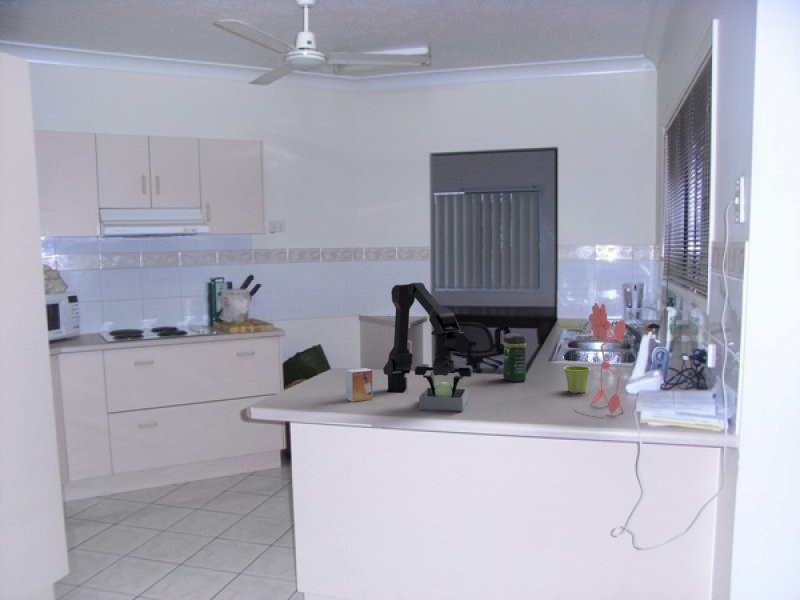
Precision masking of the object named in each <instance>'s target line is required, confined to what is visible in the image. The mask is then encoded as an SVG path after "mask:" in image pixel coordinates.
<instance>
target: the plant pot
mask: <svg viewBox="0 0 800 600" xmlns="http://www.w3.org/2000/svg"><path fill="white" fill-rule="evenodd" d="M563 370H564V373H565V375H566V376H565V377H566V382H567V384H566V385H567V391H569V392H570V393H574V394H577V393H578V394H579V393H581V394H583V393H586V391H587V384H588V377H589V374H590V370H591V368H590V367H588V366H582V365H570V366H569V365H567V366H564V367H563Z"/></svg>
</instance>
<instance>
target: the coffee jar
mask: <svg viewBox="0 0 800 600" xmlns="http://www.w3.org/2000/svg"><path fill="white" fill-rule="evenodd" d="M502 344H503V371H502V372H503V374H502V375H503V377H502V378H503V379H504V380H505V381H509V382H515V383H520V382H524V381H526V379H527V376H526V375H527V365H526V363H527V360H526V359H527V358H526V355H527V353H526V352H527V351H526V349H527V337H526V336H524V335H523V334H519V333H517V332H510V333H509V332H508V333H506V334H504V336H503V343H502Z"/></svg>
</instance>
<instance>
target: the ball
mask: <svg viewBox="0 0 800 600" xmlns="http://www.w3.org/2000/svg"><path fill="white" fill-rule="evenodd" d="M452 388H453V386H452V385H451V384H450V383H448V382H446V381H441V382H439V383H437V384H436V385H435V395H436V396H437V397H451V396H452V390H453V389H452Z"/></svg>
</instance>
